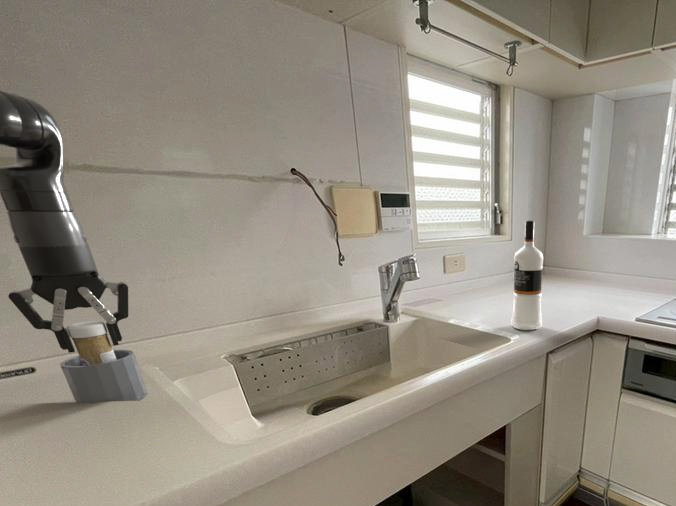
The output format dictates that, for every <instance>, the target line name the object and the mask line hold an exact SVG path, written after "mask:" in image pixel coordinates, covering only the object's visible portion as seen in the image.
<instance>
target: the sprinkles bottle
mask: <svg viewBox="0 0 676 506" xmlns="http://www.w3.org/2000/svg"><path fill="white" fill-rule="evenodd" d="M66 329H67V331H68V334H69V336H70V339H71V341H73V343H74V344H73V345H74V347H75V348H76V351H77V354H78V356H80V360H81V363H82V365H83V366H86V365H95V364H101V363H106V362H110V361H114V360H117V359H116V356H115V354H114V351H113V350H114V348H113V347H112V344H111V342H110V338H109V337H108V334H109V333H108V329H107V326H106V323H105V322H104V321H101V320H100V321H99V320H91V321H81V322H76V323H72V324H69V325H67V326H66Z"/></svg>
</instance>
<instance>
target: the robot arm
mask: <svg viewBox="0 0 676 506" xmlns="http://www.w3.org/2000/svg"><path fill="white" fill-rule="evenodd" d="M53 116H54V115H52V114H51V112H50V111H49V110H48V109H47V108H46V107H45V106H44V105H42V104H41V103H39V102H38V101H36V100H35V99H32V98H31V97H28V96H24V95H22V94H21V95H20V94H16V93H12V92H9V91H4V90H1V89H0V147H8V148H13V149H14V151H15V152H14V154H15V156H14V157H15V159H14V164H12V165H11V164H10V165H3V166H0V199H1V203H2V204H3V207H4V209H5V211H6V214H7V218H8V222H9V227H10V229H11V232H12V234H13V240H14V242H15V243H16V244H17V246H18V249H19V252H20V254H21V256H22V258H23V260H24V263H25V265H26V268H27V271H28V273H29V275H30V276H31V285H30V287H28V288H25V289H20V290H12V291H10V292H9V293H8V299H9V300H10V301H11V303H13V305H14V306H15V307H16V308H17V309H18V311H19V312H20V313H21V314H22V315H23V316H24V317H25V319H26V320H27V321H28V322H29V324H30V325H31V326H32V327H33V328H34V329H36V330H48V331H51V332H53V333H54V335H55V338H56V340H57V343H58V346H59V347H60V349H61V350H63V351H68V353H75V352H76V349H75V345H74V344H73V342H72V341H73V340H72V338H71V337H70V336H69V333H68V330H67V327H65V326H64V317H65V311H67V310H68V311H69V310H74V309H77V308H84V309H86V308H93V309H94V310H95V312H96V313H97V314H98V315H100V317H101V318H102V319H103V320H104V321H105V326H106V329H107V333H108V334H109V337H110V340H111V342H112V345H113V346H119V345H120V343H119V342H122V340H123V336H122V334H121V331H120V329H119V325H118V323H119V322H120V321H122V320H124V319H127V318H128V317H129V286H128V284H127V283H125V282H123V281H120V282H111V281H106V280H105V279H103V277H102V276H100V273H99V271H98V267H97V266H96V262H95V259H94V257H93V254H92V251H91V248H90V245H89V243H88V238H87V236H86V234H85V232H84V229H83V226H82V225H81V222H80V221H79V219H78V217H77V214H76V213H75V210H74V208H73V204H72V202H71V198H70V196H69V194H68V190H67V188H66V185H65V166H64V165H65V162H64V161H65V160H64V140H63V135H62V131H61V129H60V126H59V124H58V123H57V121H56V119H55V118H54V117H53ZM106 289H109V290H110V292H111V294H112V295H113V296H117V298H116V299H117V311H114V312H112V313H111V311H110V310H109V309H108V308H107V307H106V306H105V305H104V304H103V302H102V301H101V300H100V299H101V297H102V296H103V294H104V293H105V291H106ZM34 295H36V296H38V297H39V298H41V299H42V300H45V301H47V302H48V303H49V304H51V305H53V306H52V317H51V320H47V319H43V318H42V317H41V315H40V314H39V313H38V311H36V309H35V308H34V307H33V306H32V303H33V302H34V298H33V296H34Z"/></svg>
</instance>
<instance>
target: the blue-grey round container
mask: <svg viewBox="0 0 676 506" xmlns="http://www.w3.org/2000/svg"><path fill="white" fill-rule="evenodd" d="M113 351H114V354H115V356H116V359H117V360H114V361H110V362H106V363H101V364H95V365H86V366H83V365H82V363H81V360H80V356H79V355H77V356H76V355H75V356H72V357H69V358H67V359H65V360H63V361H62V362H60V363H59V365H60V366H59V367H60V369H61V371H62V373H63V375H64V377H65V380H66V382H67V384H68V388H69V389H70V392H71V394H72V396H73V399H74V401H75V403H80V404H95V403H105V402H110V403H111V402H139V401H141V400H143V399H144V398H145V397H147V395H148V389H147V387H146V384H145V381H144V377H143V375H142V372H141V369H140V366H139V363H138V360H137V358H136V354H135V353H134V352H133V350H130V349H113Z"/></svg>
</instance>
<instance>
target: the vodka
mask: <svg viewBox="0 0 676 506" xmlns="http://www.w3.org/2000/svg"><path fill="white" fill-rule="evenodd" d="M513 263H514V265H513V268H514V270H513V273H514V274H513V293H512V295H513V305H512V307H513V309H512V316H511V319H510V324H511V326H512V328H514V329H516V330H520V331H533V330H534V331H535V330H538V329H539V328H541V327H542V325H543V319H542V296H543V293H542V281H543V279H542V278H543V269H544V266H543V265H544V255H543V253H542V251H541V250H540V249H539V248H537V247H536V246H535V221H534V220H525V221H524V245H523V246H521V248H519V249H518V250H517V251H515V253H514V256H513Z"/></svg>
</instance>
